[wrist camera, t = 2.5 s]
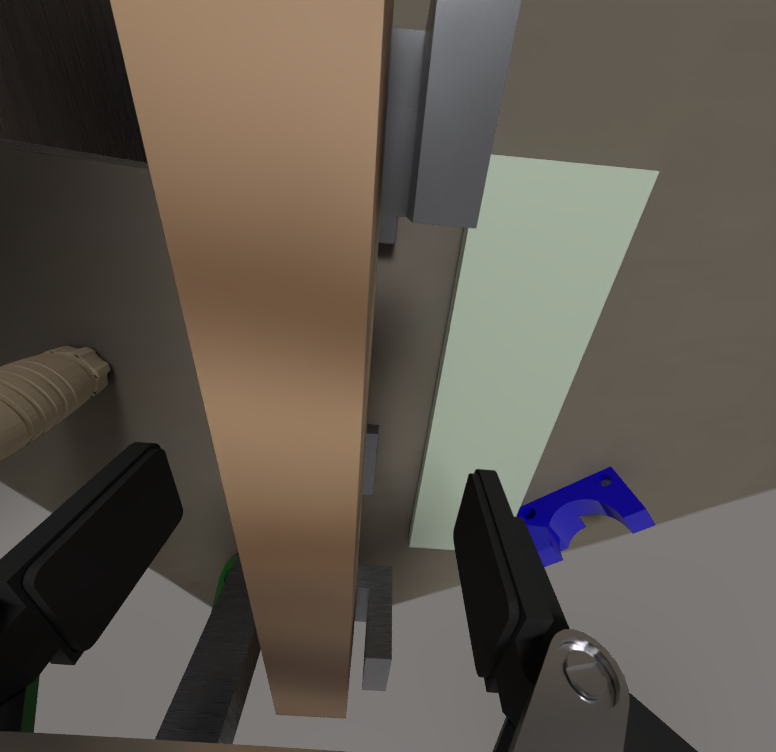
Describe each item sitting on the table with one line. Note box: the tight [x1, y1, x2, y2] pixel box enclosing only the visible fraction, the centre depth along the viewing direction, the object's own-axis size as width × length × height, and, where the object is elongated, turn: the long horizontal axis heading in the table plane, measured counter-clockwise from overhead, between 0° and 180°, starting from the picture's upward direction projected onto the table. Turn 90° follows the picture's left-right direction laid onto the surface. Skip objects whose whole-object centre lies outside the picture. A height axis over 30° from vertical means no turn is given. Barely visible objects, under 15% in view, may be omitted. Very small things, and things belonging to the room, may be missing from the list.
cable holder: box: [517, 467, 655, 567], centre depth 24 cm, size 8×4×4 cm, turn 128°
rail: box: [110, 0, 394, 718], centre depth 9 cm, size 24×3×3 cm, turn 175°
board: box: [409, 155, 659, 550], centre depth 21 cm, size 28×8×1 cm, turn 175°
